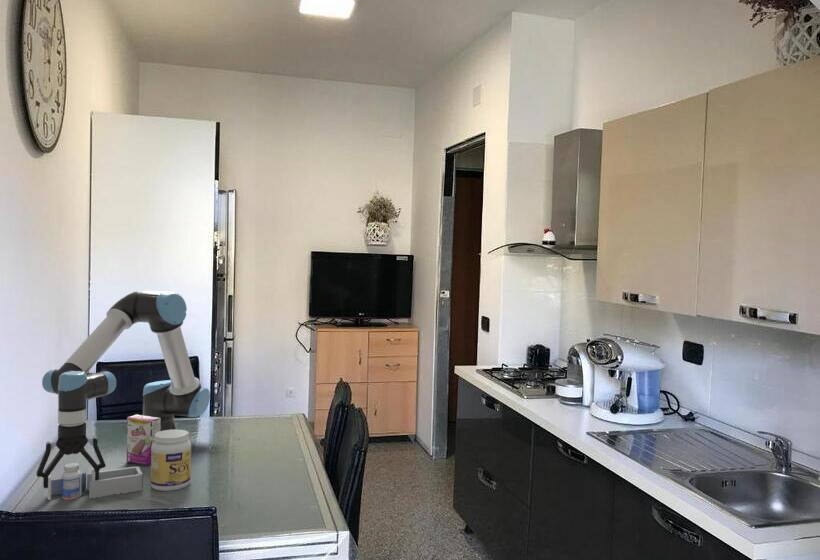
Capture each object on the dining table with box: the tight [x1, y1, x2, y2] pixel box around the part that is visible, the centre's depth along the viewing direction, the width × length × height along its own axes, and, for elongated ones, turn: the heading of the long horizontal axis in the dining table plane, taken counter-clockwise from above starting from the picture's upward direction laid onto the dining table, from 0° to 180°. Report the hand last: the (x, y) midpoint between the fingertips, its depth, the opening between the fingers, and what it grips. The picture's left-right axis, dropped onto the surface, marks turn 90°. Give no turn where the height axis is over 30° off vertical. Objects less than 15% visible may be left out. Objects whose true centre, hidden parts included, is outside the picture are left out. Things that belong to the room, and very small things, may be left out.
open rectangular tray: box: [86, 465, 144, 500], centre depth 197 cm, size 15×9×5 cm, turn 122°
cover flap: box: [51, 472, 87, 496], centre depth 194 cm, size 1×10×5 cm, turn 122°
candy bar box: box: [126, 414, 161, 467], centre depth 222 cm, size 11×5×16 cm, turn 71°
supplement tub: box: [150, 429, 192, 492], centre depth 202 cm, size 12×12×17 cm
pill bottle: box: [61, 462, 83, 501], centre depth 190 cm, size 6×5×10 cm
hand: (71, 494), depth 190 cm, fingers open, 11 cm apart
